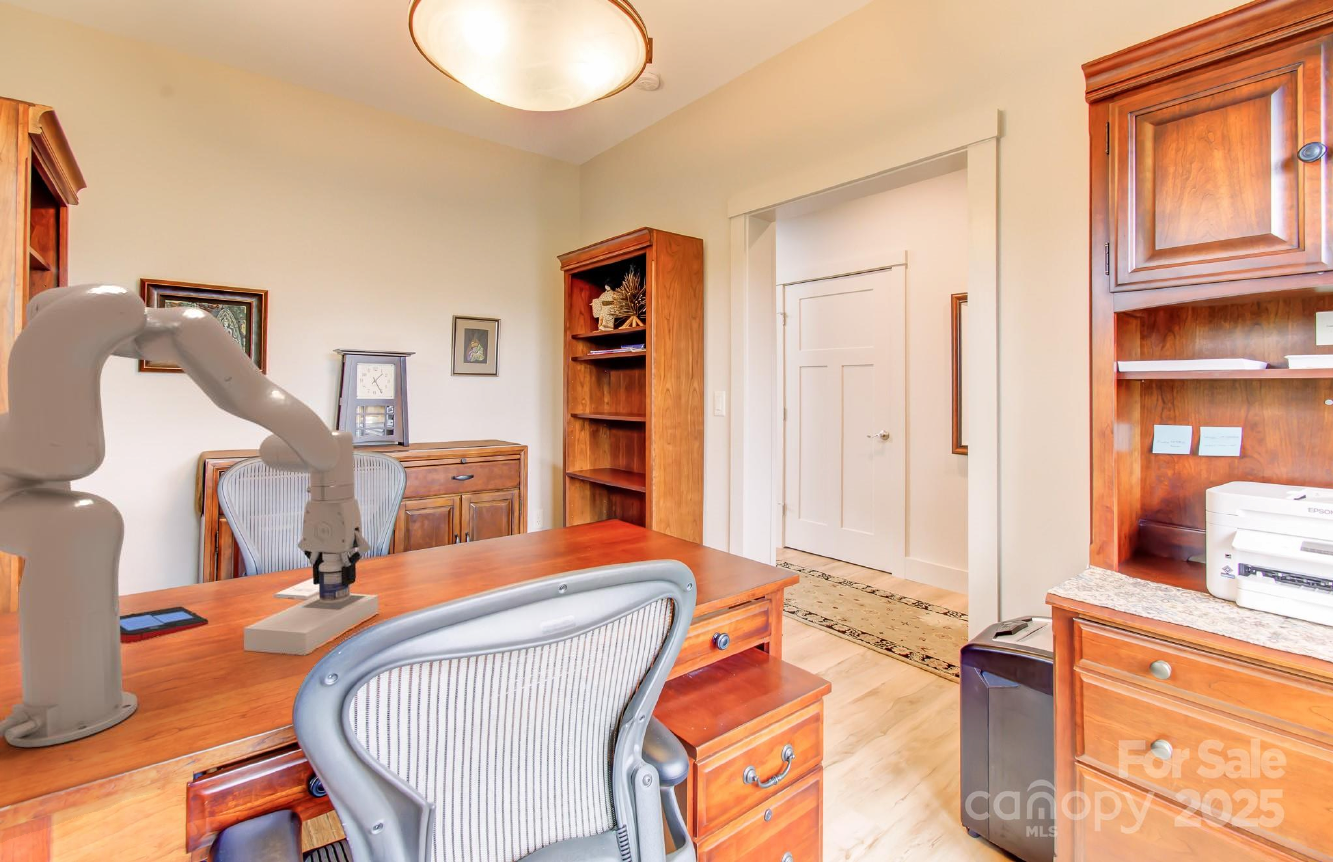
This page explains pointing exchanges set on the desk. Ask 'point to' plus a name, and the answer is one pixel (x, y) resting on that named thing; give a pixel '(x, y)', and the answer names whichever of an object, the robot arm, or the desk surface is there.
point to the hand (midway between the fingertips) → (334, 582)
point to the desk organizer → (307, 624)
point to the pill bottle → (332, 579)
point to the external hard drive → (300, 591)
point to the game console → (157, 623)
